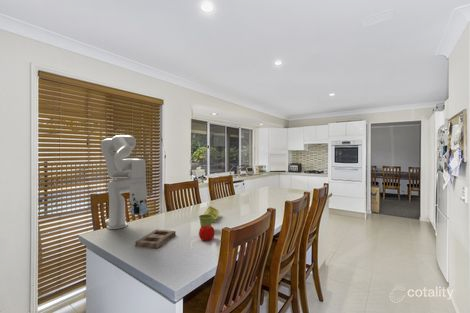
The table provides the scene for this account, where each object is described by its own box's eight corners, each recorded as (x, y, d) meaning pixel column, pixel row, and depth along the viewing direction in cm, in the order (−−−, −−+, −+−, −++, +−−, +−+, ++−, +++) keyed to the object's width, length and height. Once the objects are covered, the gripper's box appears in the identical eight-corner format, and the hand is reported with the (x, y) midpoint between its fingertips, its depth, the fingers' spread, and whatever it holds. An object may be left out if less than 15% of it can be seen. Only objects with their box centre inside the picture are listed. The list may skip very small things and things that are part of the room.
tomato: (206, 235, 142) (206, 223, 142) (217, 239, 136) (217, 226, 136) (195, 239, 134) (195, 227, 134) (205, 243, 129) (205, 230, 129)
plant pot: (215, 227, 156) (215, 214, 156) (210, 232, 147) (210, 218, 146) (201, 226, 158) (201, 213, 158) (196, 231, 149) (196, 217, 148)
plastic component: (216, 219, 166) (203, 213, 166) (211, 228, 167) (199, 222, 167) (219, 210, 185) (208, 205, 185) (215, 218, 186) (204, 213, 186)
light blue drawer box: (128, 213, 133) (128, 202, 133) (133, 212, 137) (132, 201, 136) (145, 214, 130) (145, 203, 130) (149, 213, 134) (149, 202, 134)
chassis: (135, 246, 125) (135, 241, 125) (155, 233, 145) (155, 229, 145) (157, 248, 122) (157, 243, 122) (175, 235, 142) (175, 230, 142)
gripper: (141, 179, 142) (142, 209, 142) (122, 182, 126) (123, 216, 126) (153, 179, 140) (153, 209, 141) (135, 182, 124) (135, 217, 124)
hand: (139, 212), depth 133 cm, fingers closed on light blue drawer box, 4 cm apart
